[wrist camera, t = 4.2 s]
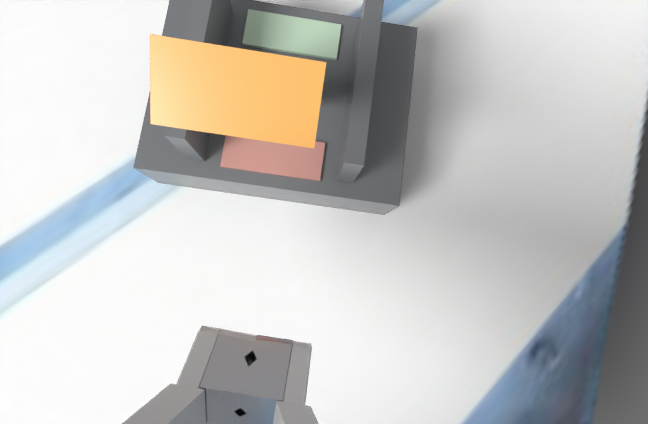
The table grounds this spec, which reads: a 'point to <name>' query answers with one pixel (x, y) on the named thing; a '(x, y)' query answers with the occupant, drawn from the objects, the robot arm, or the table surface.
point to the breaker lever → (234, 91)
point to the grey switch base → (334, 117)
